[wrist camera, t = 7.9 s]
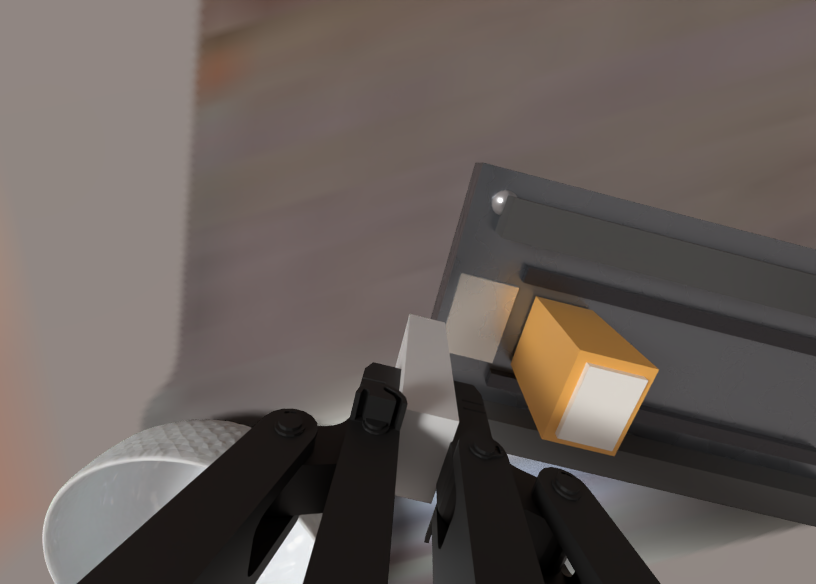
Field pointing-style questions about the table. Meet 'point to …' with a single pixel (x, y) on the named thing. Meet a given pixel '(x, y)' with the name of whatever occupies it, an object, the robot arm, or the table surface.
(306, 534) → the cereal bowl
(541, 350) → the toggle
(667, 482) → the dark grey edge bar
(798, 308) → the long dark grey rail
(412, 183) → the table surface
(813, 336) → the grey slider base
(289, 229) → the table surface
